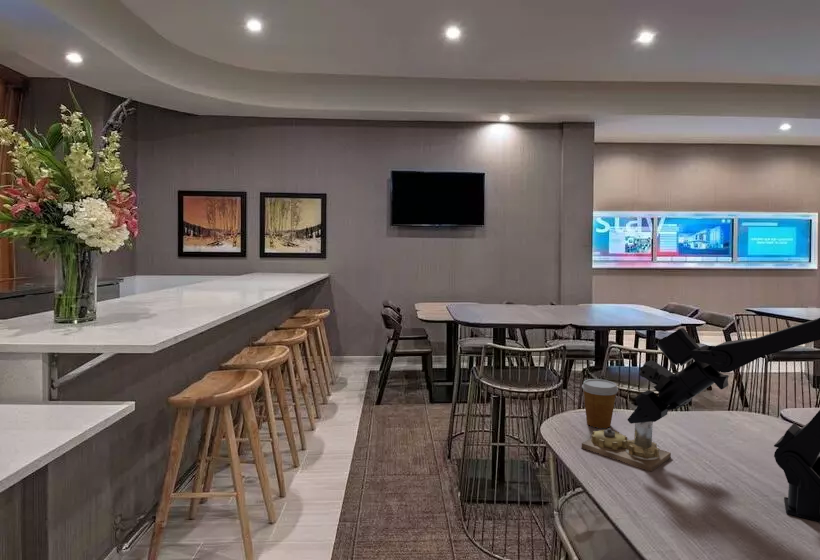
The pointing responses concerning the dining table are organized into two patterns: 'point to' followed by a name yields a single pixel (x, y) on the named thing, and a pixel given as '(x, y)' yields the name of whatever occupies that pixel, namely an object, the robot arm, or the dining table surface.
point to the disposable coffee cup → (599, 402)
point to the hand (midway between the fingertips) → (637, 416)
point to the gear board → (621, 449)
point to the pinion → (643, 441)
